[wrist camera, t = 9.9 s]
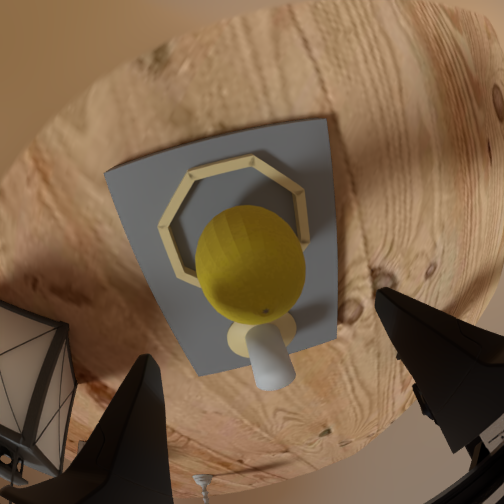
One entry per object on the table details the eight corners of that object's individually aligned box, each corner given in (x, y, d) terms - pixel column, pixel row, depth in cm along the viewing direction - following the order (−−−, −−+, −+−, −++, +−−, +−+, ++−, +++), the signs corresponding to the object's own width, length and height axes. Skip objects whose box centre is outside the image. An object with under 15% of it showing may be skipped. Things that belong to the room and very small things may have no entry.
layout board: (316, 117, 16) (371, 124, 11) (330, 328, 26) (357, 376, 21) (110, 168, 15) (70, 198, 10) (198, 364, 26) (202, 420, 20)
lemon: (248, 170, 16) (291, 221, 9) (293, 235, 19) (347, 311, 12) (177, 224, 17) (167, 307, 10) (229, 280, 19) (249, 370, 13)
